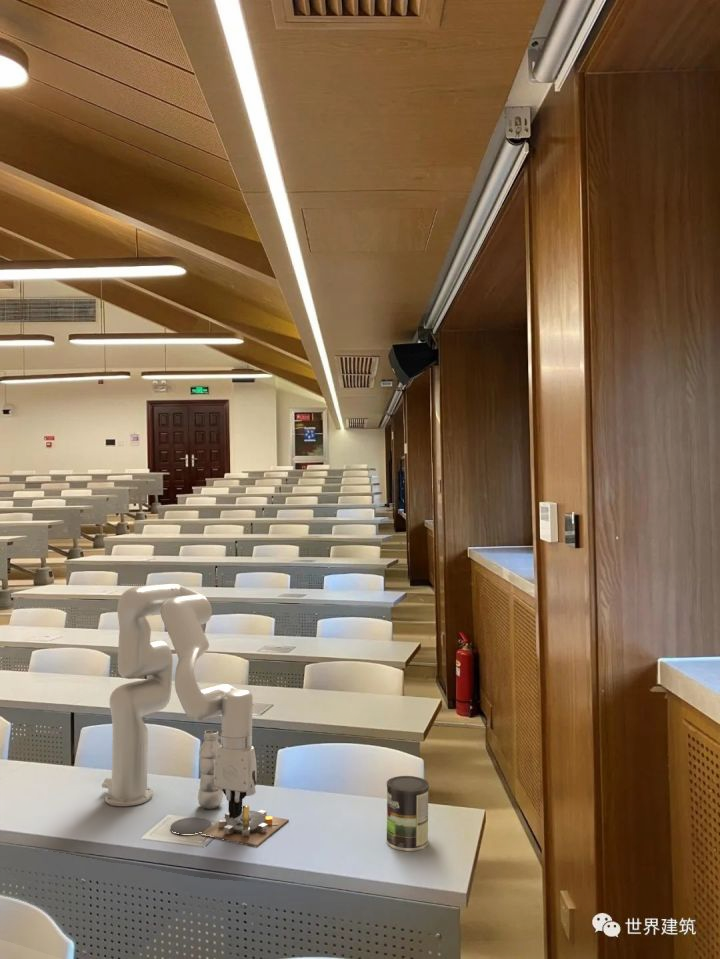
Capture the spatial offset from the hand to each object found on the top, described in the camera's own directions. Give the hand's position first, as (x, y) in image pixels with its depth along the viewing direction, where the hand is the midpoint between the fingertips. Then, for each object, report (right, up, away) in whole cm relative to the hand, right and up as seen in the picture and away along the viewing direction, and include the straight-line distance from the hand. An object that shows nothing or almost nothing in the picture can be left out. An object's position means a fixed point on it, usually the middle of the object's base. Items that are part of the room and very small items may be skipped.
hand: (235, 816), depth 183 cm
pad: (-12, -4, +3) cm, 13 cm away
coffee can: (+43, -5, -4) cm, 43 cm away
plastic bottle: (-10, -5, +17) cm, 20 cm away
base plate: (+2, -5, +3) cm, 6 cm away
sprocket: (+2, -5, +3) cm, 6 cm away
